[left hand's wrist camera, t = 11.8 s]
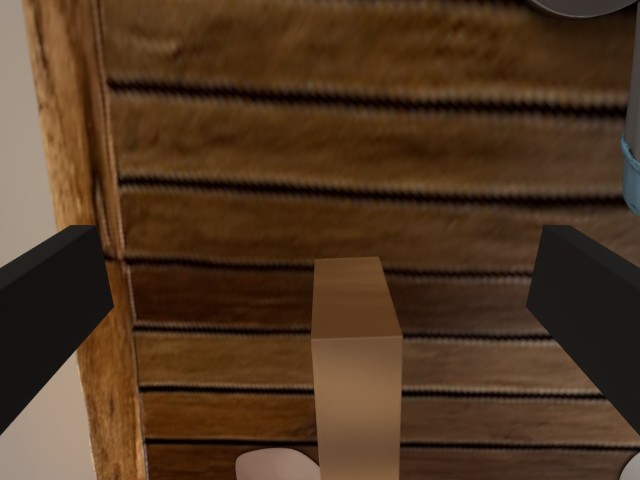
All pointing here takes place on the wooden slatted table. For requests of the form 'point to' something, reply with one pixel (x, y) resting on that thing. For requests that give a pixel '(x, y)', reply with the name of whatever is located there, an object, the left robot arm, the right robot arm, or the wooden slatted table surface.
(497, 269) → the wooden slatted table surface
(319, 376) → the bar
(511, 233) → the wooden slatted table surface
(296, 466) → the anatomical model
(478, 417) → the wooden slatted table surface
